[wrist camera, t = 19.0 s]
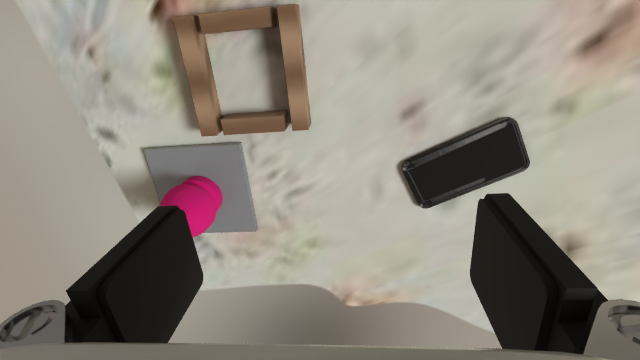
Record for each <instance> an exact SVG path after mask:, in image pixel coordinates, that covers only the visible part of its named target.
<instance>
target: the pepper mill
mask: <svg viewBox="0 0 640 360" xmlns="http://www.w3.org/2000/svg"><path fill="white" fill-rule="evenodd" d="M222 200H223V197H222V192H221V190H220V188H219V187H218V185H217V184H216V183H215V182H213V181H212V180H210V179H209V178H206V177H202V176H194V177H190V178H188V179H187V180H186V181H184V182H183V183H182V184H181V185H177V186H175V187H173V188H172V189H170V190H169V191H168V192H167V193H166V194H165V196H164V197H163V199H162V201H161V203H160V206H175V205H176V206H178V207H179V208H180V210H184V212H185V214H186V217H187V220H188V224H189V227H190V231H191V234H192V237H195V236H198V235H200V234H201V233H203V232H205V231H206V230H207V229H208V228H209V227H210V226H211V225H212V223H213V222H214V220H215V217H216V212H217V211H218V209H219V208H220V206H221V204H222Z"/></svg>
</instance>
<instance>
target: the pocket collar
mask: <svg viewBox="0 0 640 360" xmlns="http://www.w3.org/2000/svg"><path fill="white" fill-rule="evenodd" d="M277 11H278V19H279V27H280V35H281V43H282V51H283V59H284V67H285V75H286V83H287V91H288V99H289V107H290V115H291V123H292V131H297V130H308V129H309V127H310V125H311V118H310V109H309V99H308V89H307V79H306V69H305V59H304V50H303V40H302V30H301V20H300V10H299V5H297V4H288V5H278V6H277ZM173 20H174V24H175V28H176V32H177V36H178V40H179V44H180V49H181V53H182V57H183V61H184V65H185V69H186V73H187V78H188V82H189V86H190V90H191V94H192V98H193V102H194V107H195V111H196V115H197V119H198V123H199V127H200V131H201V136H216V135H218V134H219V133H220V132H221V131H223V133H224V135H232V134H248V133H264V132H280V131H285V130H286V129H287V127H288V126H289V122H288V114H287V110H281V111H267V112H252V113H238V114H228V115H227V116H225V117H224V118H222V115H221V110H220V105H219V100H218V96H217V91H216V86H215V81H214V77H213V72H212V67H211V62H210V58H209V53H208V48H207V44H206V39H205V34H206V33H220V32H230V31H240V30H249V29H259V28H269V27H276V22H275V14H274V8H271V7H260V8H251V9H241V10H232V11H223V12H214V13H204V14H198V16H195V15H186V16H176V17H173Z"/></svg>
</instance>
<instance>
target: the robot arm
mask: <svg viewBox="0 0 640 360" xmlns="http://www.w3.org/2000/svg"><path fill="white" fill-rule="evenodd" d="M470 277H471V282H472V284H473V286H474V289H475V291H476V293H477V295H478V297H479V299H480V302H481V304H482V306H483V308H484V310H485V312H486V314H487V317H488V319H489V321H490V323H491V325H492V327H493V329H494V332H495V334H496V336H497V338H498V340H499V342H500V345H501V346H502V349H490V348H445V347H443V348H441V347H398V346H396V347H395V346H350V345H289V344H288V345H287V344H282V345H281V344H215V343H209V344H208V343H203V344H202V343H168V341H169V340H170V338H171V336H172V335H173V333H174V331H175V329H176V328H177V326H178V324H179V323H180V321H181V319H182V318H183V316H184V314H185V312H186V311H187V309H188V307H189V306H190V304H191V302H192V300H193V299H194V297H195V295H196V294H197V292H198V290H199V289H200V287H201V285H202V282H203V272H202V269H201V265H200V262H199V258H198V255H197V251H196V248H195V244H194V241H193V238H192V234H191V231H190V227H189V224H188V220H187V217H186V214H185V212H184V210H180V208H179V207H178V206H176V205H175V206H158V207H157V208H156V209H155V210H154V211H152V212H151V213H150V214H149V215H148V216H147V217H146V218H145V219H144V220H143V221H142V222H140V223H139V224H138V225H137V226H136V227H135V228H134V229H133V230H132V231H131V232H130V233H128V234H127V235H126V236H125V237H124V238H123V239H122V240H121V241H120V242H119V243H118V244H117V245H115V247H113V248H112V249H111V250H110V251H109V252H108V253H107V254H106V255H105V256H103V258H101V259H100V260H99V261H98V262H97V263H96V264H95V265H94V266H93V267H91V268H90V269H89V270H88V271H87V272H86V273H85V274H84V275H83V276H82V277H81V278H79V279H78V280H77V281H76V282H75V283H74V284H73V285H72V286H71V287H70V288H69V289H68V290H66V292H67V294H68V296H69V298H70V300H71V301H70V302H69V303H68V304H67V305H66V306H65V305H64V303H63V302H61V301H58V300H49V301H43V302H40V303H36V304H34V305H31V306H29V307H26V308H24V309H22V310H20V311H19V312H17V313H15V314H13V315H12V316H10V317H9V318H8V319H6V320H5V321H4V322H2V323H1V324H0V360H640V302H636V301H631V300H623V299H618V300H609V301H608V300H607V299H606V298H605V297H604V295H603V294H602V293H601V292H600V291H599V290H598V289H597V287H596V286H595V285H594V284H593V283H592V282H591V281H590V280H589V279H588V278H587V276H586V275H585V274H584V273H583V272H582V271H581V270H580V269H579V268H578V267H577V266H576V265H575V264H574V263H573V262H572V260H571V259H570V258H569V257H568V256H567V255H566V254H565V253H564V252H563V251H562V250H561V249H560V248H559V247H558V246H557V244H556V243H555V242H554V241H553V240H552V239H551V238H550V237H549V236H548V235H547V234H546V233H545V232H544V231H543V230H542V228H541V227H540V226H539V225H538V224H537V223H536V222H535V221H534V220H533V219H532V218H531V217H530V216H529V215H528V214H527V212H526V211H525V210H524V209H523V208H522V207H521V206H520V205H519V204H518V203H517V202H516V201H515V200H514V199H513V198H512V196H511V195H510V194H508V193H502V194H487V195H486V196H485V198H484V199H480V200H479V202H478V208H477V216H476V225H475V233H474V242H473V250H472V259H471V267H470Z"/></svg>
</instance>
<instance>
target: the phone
mask: <svg viewBox="0 0 640 360" xmlns="http://www.w3.org/2000/svg"><path fill="white" fill-rule="evenodd" d="M529 164H530V160H529V157H528V154H527V151H526V148H525V145H524V142H523V138H522V135H521V132H520V129H519V126H518V123H517V121H516V120H514V119H513V118H510V117H505V118H502V119H499V120H497V121H495V122H493V123H490V124H488V125H486V126H483V127H481V128H479V129H477V130H474V131H472V132H470V133H467V134H465V135H463V136H461V137H458V138H456V139H454V140H451V141H449V142H447V143H445V144H442V145H440V146H438V147H435V148H433V149H431V150H429V151H426V152H424V153H422V154H419V155H417V156H415V157H413V158H410V159H408V160H406V161H405V162H404V163H403V165H402V170H403V173H404V175H405V177H406V179H407V181H408V184H409V186H410V188H411V190H412V192H413V194H414V196H415V198H416V200H417V203H418V205H419V206H420V207H422V208H430V207H433V206H435V205H438V204H440V203H443V202H445V201H448V200H451V199H453V198H456V197H458V196H461V195H463V194H466V193H469V192H471V191H474V190H476V189H479V188H481V187H484V186H487V185H489V184H492V183H494V182H497V181H499V180H502V179H505V178H507V177H510V176H512V175H515V174H518V173H520V172H523V171H525V170H526V169H527V168H528V167H529Z"/></svg>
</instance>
